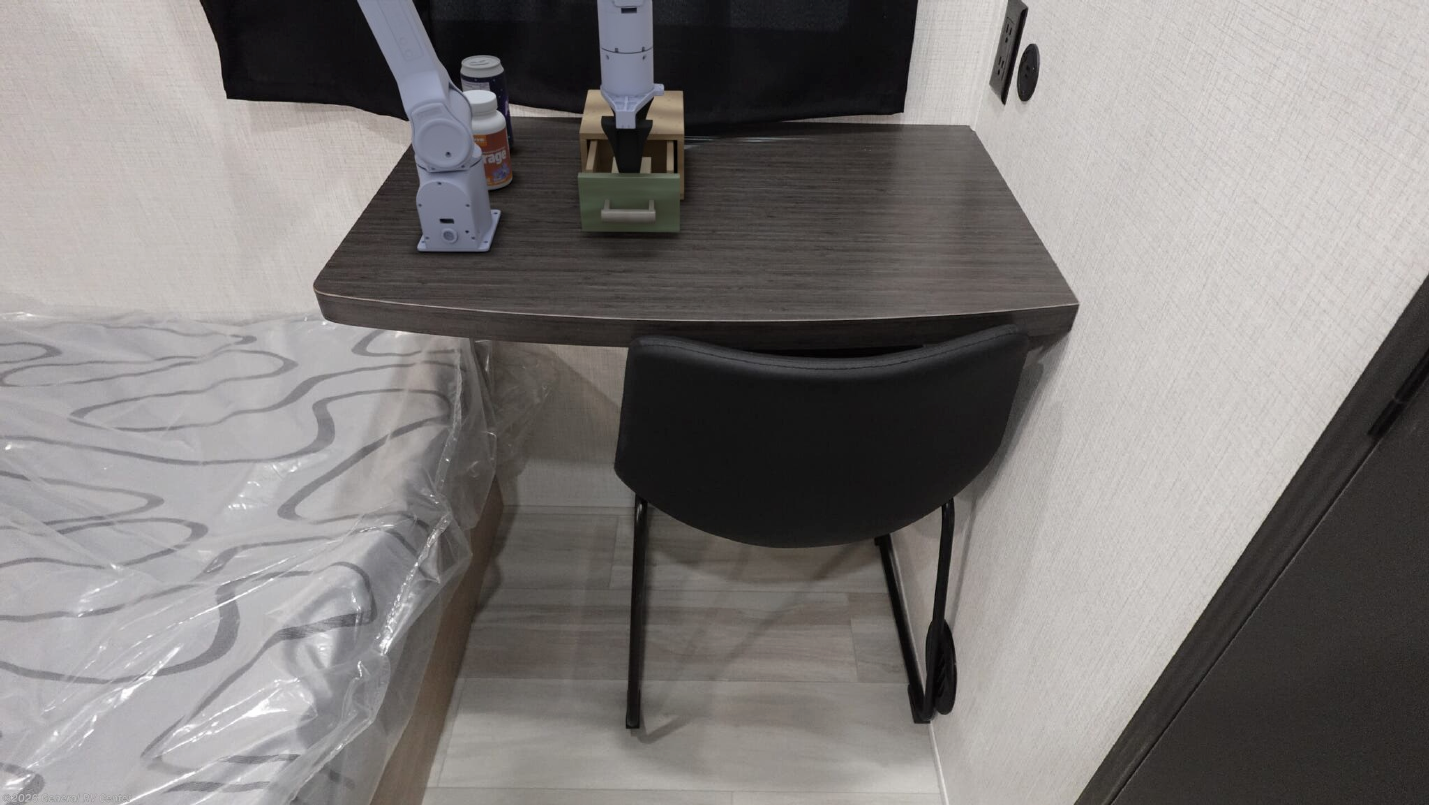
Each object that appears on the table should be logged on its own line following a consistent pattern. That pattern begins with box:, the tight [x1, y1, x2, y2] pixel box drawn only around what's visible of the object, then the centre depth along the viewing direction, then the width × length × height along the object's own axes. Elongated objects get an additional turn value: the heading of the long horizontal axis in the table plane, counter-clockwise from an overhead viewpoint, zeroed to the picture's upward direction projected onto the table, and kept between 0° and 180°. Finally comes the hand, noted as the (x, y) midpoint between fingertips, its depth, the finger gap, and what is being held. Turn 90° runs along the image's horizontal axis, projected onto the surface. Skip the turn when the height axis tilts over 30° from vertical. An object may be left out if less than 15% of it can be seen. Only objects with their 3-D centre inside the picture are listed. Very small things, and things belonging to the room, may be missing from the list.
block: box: [612, 157, 651, 173], centre depth 100 cm, size 4×4×4 cm
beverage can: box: [459, 54, 515, 150], centre depth 113 cm, size 6×6×12 cm
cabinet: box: [578, 89, 685, 200], centre depth 109 cm, size 15×13×9 cm
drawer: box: [577, 139, 681, 233], centre depth 99 cm, size 18×11×7 cm, turn 2°
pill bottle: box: [462, 90, 513, 191], centre depth 105 cm, size 6×6×11 cm
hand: (630, 165), depth 99 cm, fingers open, 6 cm apart
